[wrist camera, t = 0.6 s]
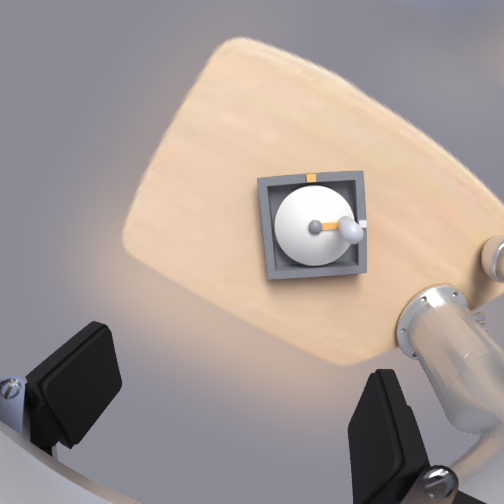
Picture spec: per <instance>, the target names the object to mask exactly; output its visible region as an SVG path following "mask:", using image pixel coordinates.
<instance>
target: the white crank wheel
mask: <svg viewBox="0 0 504 504" xmlns="http://www.w3.org/2000/svg"><path fill="white" fill-rule="evenodd" d="M275 234H276V238H277V240H278V243H279V245H280V246H281V248H282V249H283V251H284V252H285V253H286V254H287V255H288V256H289V257H290V258H292V259H293V260H295V261H297V262H299V263H302V264H305V265H311V266H319V265H324V264H328V263H330V262H333V261H334V260H336V259H338V258H339V257H340V256H342V255H343V254H344V253H345V251H346V250H347V249H348V247H349V246H350V244H357V243H359V242H360V241H361V240H362V238H363V234H364V233H363V229H362V228H361V226H359V225H358V224H357V223H356V222H355V221H354V216H353V212H352V210H351V208H350V206H349V204H348V203H347V202H346V200H345V199H344V198H343V197H342V196H341V195H339V194H338V193H337V192H335V191H333V190H331V189H329V188H327V187H323V186H318V185H310V186H305V187H301V188H299V189H296V190H295V191H293V192H292V193H290V194H289V195H288V196H287V197H286V198H285V199H284V200H283V202H282V203H281V205H280V207H279V209H278V211H277V214H276V218H275Z"/></svg>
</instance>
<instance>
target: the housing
mask: <svg viewBox="0 0 504 504" xmlns="http://www.w3.org/2000/svg"><path fill="white" fill-rule="evenodd" d="M257 182H258V191H259V200H260V209H261V219H262V228H263V237H264V247H265V257H266V266H267V276H268V280H270V279H287V278H304V277H319V276H334V275H347V274H360V273H367V231H366V228H367V220H366V205H365V188H364V175H363V171H342V172H324V173H309V174H296V175H284V176H273V177H263V178H257ZM310 185H318V186H323V187H327V188H329V189H331V190H333V191H335V192H337V193H338V194H339V195H341V196H342V197H343V198H344V199H345V200H346V202H347V203H348V204H349V206H350V208H351V210H352V212H353V216H354V221H355V222H356V223H357V224H358V225H359V226H361V228H362V229H363V233H364V234H363V238H362V240H361V241H360V242H359V243H357V244H350V246H349V247H348V249H347V250H346V251H345V253H344V254H343V255H342V256H340V257H339V258H338V259H336V260H334V261H333V262H330V263H328V264H324V265H319V266H311V265H305V264H302V263H299V262H297V261H295V260H293V259H292V258H290V257H289V256H288V255H287V254H286V253H285V252H284V251H283V249H282V248H281V246H280V245H279V243H278V240H277V238H276V234H275V218H276V214H277V211H278V209H279V207H280V205H281V203H282V202H283V200H284V199H285V198H286V197H287V196H288V195H289V194H290V193H292V192H293V191H295V190H296V189H299V188H301V187H305V186H310Z"/></svg>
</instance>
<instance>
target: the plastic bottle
mask: <svg viewBox="0 0 504 504" xmlns="http://www.w3.org/2000/svg"><path fill="white" fill-rule="evenodd" d="M481 263H482V267H483V270H484V272H485V273H486V274H487V275H488V276H489V277H490V278H491V279H493V280H495V281H498V282H501V283H504V236H493V237H492V238H490V239H489V240H488V241H487V242H486V243H485V245H484V247H483V249H482V254H481Z"/></svg>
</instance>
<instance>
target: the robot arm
mask: <svg viewBox="0 0 504 504" xmlns="http://www.w3.org/2000/svg"><path fill="white" fill-rule="evenodd" d="M484 319H485V314H484V312H478V313H476V314H473V313H472V312H471V311H470V310H469V309H468V303H467V300H466V298H465V296H464V295H463V293H462V292H460V291H459V290H458V289H457V288H455V287H454V286H451V285H447V284H439V285H434V286H431V287H428V288H426V289H425V290H423V291H421V292H420V293H418V294H417V295H416V296H415V297H414V298H413V299H412V300H411V301H410V302H409V303H408V304H407V306H406V307H405V308H404V310H403V312H402V314H401V316H400V318H399V321H398V324H397V330H396V334H397V341H398V344H399V346H400V348H401V350H402V351H403V352H404V354H406V355H407V356H408V357H410V358H412V359H416V360H419V362H420V363H421V365H422V367H423V369H424V371H425V373H426V375H427V377H428V379H429V381H430V383H431V385H432V387H433V389H434V391H435V393H436V395H437V397H438V400H439V402H440V404H441V406H442V408H443V411H444V413H445V415H446V417H447V419H448V421H449V422H450V423H451V425H452V426H453V427H455V428H456V429H457V430H460V431H462V432H466V433H472V434H481V436H480V438H479V440H478V441H477V442H476V443H475V444H474V445H473V446H472V447H471V448H470V449H468V451H467V452H465V453H464V454H463V455H462V456H460V457H459V458H458V459H457V460H455V461H454V462H453V463H451V464H450V465H449V466H443V465H434V466H430V463H429V460H428V456H427V453H426V450H425V447H424V443H423V441H422V437H421V434H420V431H419V428H418V425H417V422H416V419H415V417H414V414H413V411H412V409H411V407H410V406H408V405H407V404H406V401H405V398H404V395H403V393H402V390H401V387H400V385H399V382H398V379H397V377H396V374H395V372H394V370H392V369H377V370H376V371H375V373H371V374H370V376H369V378H368V381H367V383H366V386H365V388H364V391H363V393H362V396H361V398H360V400H359V403H358V405H357V407H356V410H355V412H354V414H353V416H352V418H351V421H350V423H349V426H348V438H349V449H350V460H351V473H352V488H353V504H504V351H503V350H502V349H501V348H500V347H499V346H498V345H497V343H496V342H495V341H494V340H493V339H492V338H491V337H490V336H489V335H488V334H487V332H488V328H487V325H486V324H485V323H483V324H478V323H477V322H479V321H483V320H484ZM26 379H27V383H26V384H25V383H24V382H23V380H22V379H21V378H19V377H17V376H6V377H4V378H1V379H0V504H143V503H140V502H138V501H135V500H133V499H130V498H128V497H126V496H123V495H121V494H119V493H117V492H115V491H113V490H110V489H108V488H106V487H104V486H102V485H100V484H98V483H96V482H94V481H92V480H90V479H88V478H87V477H85V476H83V475H81V474H79V473H78V472H76V471H74V470H72V469H71V468H69V467H67V466H66V465H64V464H62V463H61V462H59V461H58V457H57V448H56V444H57V442H58V441H59V442H60V443H61V444H63V445H64V446H66V447H68V448H69V449H71V448H72V447H73V446H74V444H78V443H79V442H80V441H81V440H82V439H83V437H84V436H85V435H86V433H87V432H88V431H89V429H90V428H91V427H92V426H93V424H94V423H95V422H96V420H97V419H98V418H99V416H100V415H101V414H102V413H103V411H104V410H105V409H106V407H107V406H108V405H109V404H110V402H111V401H112V400H113V398H114V397H115V396H116V395H117V393H118V392H119V391H120V389H121V387H122V380H121V376H120V371H119V367H118V363H117V358H116V353H115V349H114V344H113V338H112V333H111V331H110V330H109V328H108V326H107V325H105V324H102V323H99V322H96V321H93V322H91V323H90V324H88V325H87V326H86V327H84V328H83V329H82V330H81V331H79V332H78V333H77V334H76V335H74V336H73V337H72V338H71V339H70V340H68V341H67V342H66V343H65V344H63V345H62V346H61V347H60V348H59V349H58V350H56V351H55V352H54V353H53V354H51V355H50V356H49V357H48V358H47V359H46V360H44V361H43V362H42V363H41V364H40V365H38V366H37V367H36V368H35V369H34V370H33V371H31V372H30V373H29V374H28V375H27V376H26Z"/></svg>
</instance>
